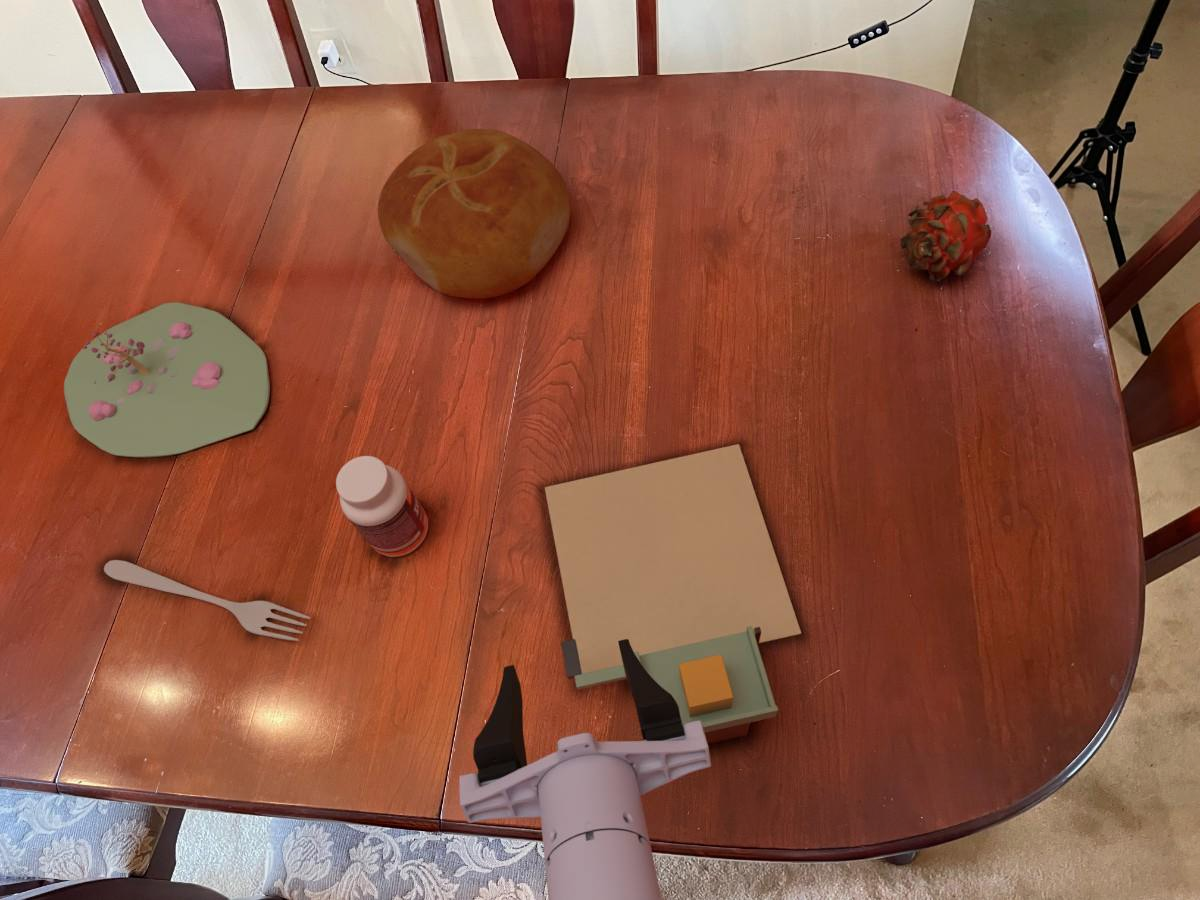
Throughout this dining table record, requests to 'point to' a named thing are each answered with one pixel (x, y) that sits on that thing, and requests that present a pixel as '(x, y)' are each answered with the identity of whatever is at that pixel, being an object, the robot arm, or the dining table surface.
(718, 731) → the stand
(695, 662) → the block
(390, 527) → the pill bottle
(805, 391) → the dining table surface
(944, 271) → the dragon fruit
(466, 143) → the bread
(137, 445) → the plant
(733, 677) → the tray
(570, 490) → the mat
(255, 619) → the fork
